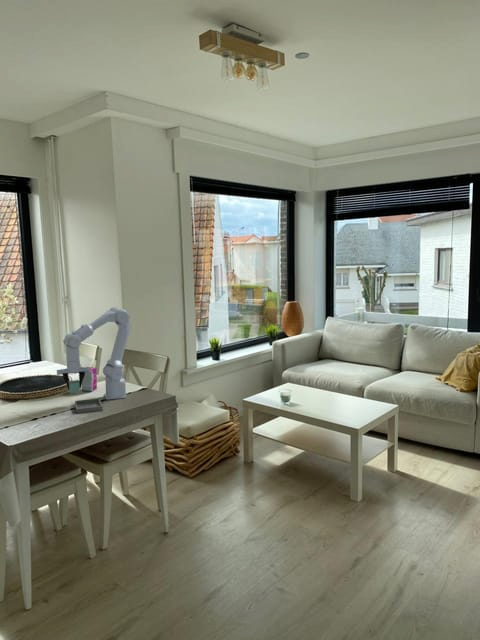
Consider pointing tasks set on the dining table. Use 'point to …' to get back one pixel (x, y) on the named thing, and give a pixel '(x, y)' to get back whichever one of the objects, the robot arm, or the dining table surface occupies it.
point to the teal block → (74, 386)
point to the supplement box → (90, 380)
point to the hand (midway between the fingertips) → (74, 388)
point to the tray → (88, 405)
